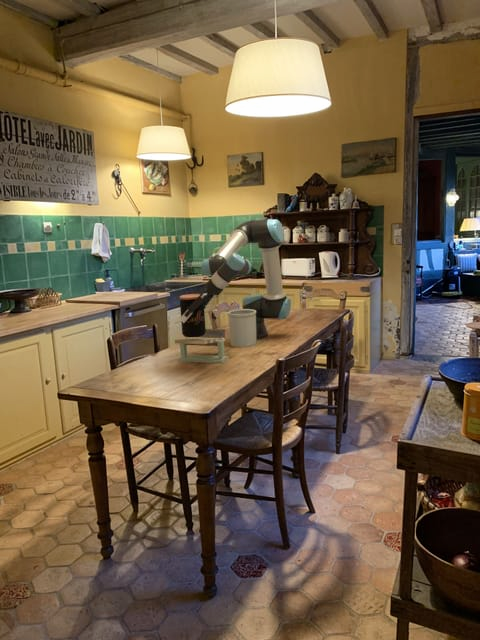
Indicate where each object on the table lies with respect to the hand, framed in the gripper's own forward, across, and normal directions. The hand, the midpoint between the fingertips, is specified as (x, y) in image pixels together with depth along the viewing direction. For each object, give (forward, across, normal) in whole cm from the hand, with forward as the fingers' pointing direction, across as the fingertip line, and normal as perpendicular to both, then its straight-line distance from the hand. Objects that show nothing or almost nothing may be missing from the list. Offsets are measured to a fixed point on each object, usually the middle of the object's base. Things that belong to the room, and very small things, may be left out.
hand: (187, 318), depth 223 cm
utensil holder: (+6, +40, -24) cm, 47 cm away
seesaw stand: (+13, +8, -17) cm, 23 cm away
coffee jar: (+3, 0, -8) cm, 8 cm away
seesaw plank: (+8, +7, -12) cm, 16 cm away
